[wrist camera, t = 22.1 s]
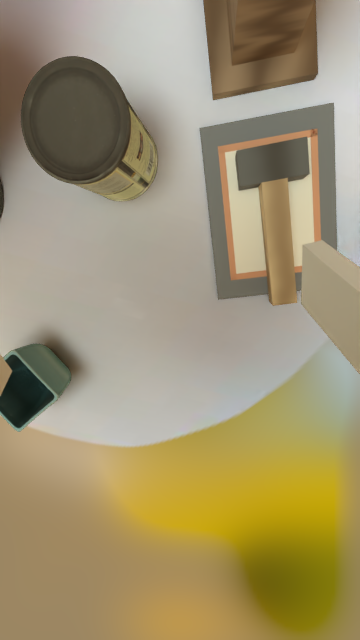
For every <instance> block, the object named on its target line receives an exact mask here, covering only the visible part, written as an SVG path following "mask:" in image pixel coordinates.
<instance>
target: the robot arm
mask: <svg viewBox="0 0 360 640" xmlns="http://www.w3.org/2000/svg"><path fill="white" fill-rule="evenodd" d="M2 208H3V190H2V184H1V180H0V216H1V213H2ZM301 304H302V305H303V307H304V308H305V309H306V310H307V311H308V313H309V314H310V315H311V316H312V317H313V319H314V320H315V321H316V322H317V323H318V325H319V326H320V327H321V328H322V329H323V331H324V332H325V333H326V334H327V336H328V337H329V338H330V339H331V340H332V342H333V343H334V344H335V345H336V346H337V347H338V349H339V350H340V351H341V352H342V354H343V355H344V356H345V357H346V358H347V360H348V361H349V362H350V363H351V364H352V366H353V367H354V368H355V369H356V370H357V372H358V373H359V374H360V267H359V266H357V265H356V264H354V263H353V262H352V261H350V260H349V259H348V258H346V257H345V256H343V255H342V254H341V253H339V252H338V251H336V250H335V249H334V248H332V247H331V246H330V245H328V244H327V243H325V242H324V241H323V240H321V241H316V242H312V243H308V244H304V245H303V250H302V288H301ZM11 373H12V370H11V368H10V367H9V366H8V364H7V363H6V361H5V360H4V359H3V357H2V356H1V355H0V396H1V394H2V392H3V389H4V387H5V385H6V383H7V381H8V379H9V377H10V375H11Z"/></svg>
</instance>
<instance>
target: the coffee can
mask: <svg viewBox="0 0 360 640" xmlns="http://www.w3.org/2000/svg"><path fill="white" fill-rule="evenodd" d="M21 125H22V132H23V136H24V139H25V142H26V145H27V147H28V150H29V151H30V153H31V155H32V157H33V158H34V160H35V161H36V162H37V164H38V165H39V166H40V167H41V168H42V169H43V170H44V171H46V172H47V173H48V174H49V175H51V176H52V177H54V178H56V179H58V180H61V181H63V182H67V183H71V184H75V185H77V186H80V187H82V188H85V189H87V190H90V191H92V192H95V193H97V194H100V195H102V196H104V197H106V198H108V199H111V200H114V201H128V200H132V199H135V198H137V197H138V196H140V195H141V194H143V193H144V192H145V191H146V190H147V189H148V188H149V186H150V185H151V183H152V182H153V179H154V178H155V174H156V171H157V163H158V157H157V151H156V146H155V143H154V141H153V139H152V137H151V136H150V134H149V133H148V132H147V130H146V129H145V127H144V126H143V124H142V123H141V121H140V120H139V118H138V117H137V115H136V113H135V112H134V110H133V109H132V107H131V105H130V104H129V102H128V101H127V99H126V97H125V95H124V92H123V91H122V89H121V87H120V85H119V83H118V82H117V81H116V79H115V78H114V77H113V75H112V74H111V73H110V72H109V71H108V70H106V69H105V68H104V67H103V66H101V65H100V64H98V63H96V62H94V61H92V60H90V59H86V58H83V57H77V56H68V57H62V58H59V59H56V60H54V61H52V62H50V63H48V64H47V65H45V66H44V67H43V68H41V69H40V70H39V71H38V72H37V74H36V75H35V76H34V77H33V79H32V80H31V82H30V83H29V85H28V88H27V90H26V92H25V95H24V98H23V103H22V109H21Z"/></svg>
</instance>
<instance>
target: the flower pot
mask: <svg viewBox="0 0 360 640" xmlns="http://www.w3.org/2000/svg"><path fill="white" fill-rule="evenodd" d="M3 359H4V360H5V361H6V363H7V364H8V366H9V367H10V368H11V370H12V373H11V375H10V377H9V379H8V381H7V383H6V385H5V387H4V389H3V392H2V394H1V396H0V415H1V416H2V417H3V418H4V419H5V420H6V421H7V422H8V423H9V424H10V425H11V426H12V427H13V428H14V429H15V430H16V431H18V432H20V431H21V430H23V429H24V428H25V427H26V426H27V425H28V424H29V423H30V422H32V421H33V420H34V419H35V418H36V417H37V416H39V415H40V414H41V413H42V412H43V411H44V410H46V409H47V408H48V407H49V406H50V405H52V404H53V403H54V402H56V401H57V400H58V398H59V397H60V396H61V394H62V393H63V392H64V390H65V389H66V388H67V386H68V385H69V383H70V380H71V373H70V371H69V369H68V368H67V367H66V366H65V364H64V363H63V362H62V361H61V360H60V359H59V358H58V357H57V356H56V355H55V354H54V353H53V352H52V351H51V350H50V349H49V348H48V347H46V346H44V345H41V344H31V345H27V346H24V347H21V348H18V349H15V350H11V351H10V352H9V353H8V354H7V355H6V356H5V357H4V358H3Z"/></svg>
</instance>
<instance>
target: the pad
mask: <svg viewBox="0 0 360 640" xmlns="http://www.w3.org/2000/svg"><path fill="white" fill-rule="evenodd" d="M200 135H201V144H202V153H203V162H204V172H205V181H206V190H207V199H208V209H209V218H210V227H211V236H212V246H213V255H214V264H215V273H216V282H217V292H218V300H219V299H228V298H237V297H246V296H255V295H263V294H268V284H267V273H266V263H265V252H264V242H263V231H262V221H261V210H260V200H259V189H258V187H257V188H251V189H246V190H240V191H239V189H238V180H237V171H236V162H235V155H236V151H237V150H242V149H247V148H252V147H257V146H262V145H267V144H272V143H277V142H282V141H287V140H292V139H297V138H302V137H307V138H308V154H309V170H310V174H309V175H308V176H306V177H305V178H304V179H301V180H295V181H290V182H288V190H289V203H290V216H291V230H292V243H293V256H294V269H295V282H296V291H299V290H301V288H302V250H303V245H304V244H308V243H312V242H316V241H321V240H323V241H324V242H325V243H327V244H328V245H330V246H331V247H332V248H334V249H335V250H336V251H337V229H336V184H335V138H334V103H329V104H324V105H319V106H314V107H308V108H303V109H298V110H293V111H287V112H282V113H277V114H272V115H266V116H261V117H256V118H251V119H246V120H240V121H235V122H230V123H225V124H219V125H214V126H209V127H204V128H200Z"/></svg>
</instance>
